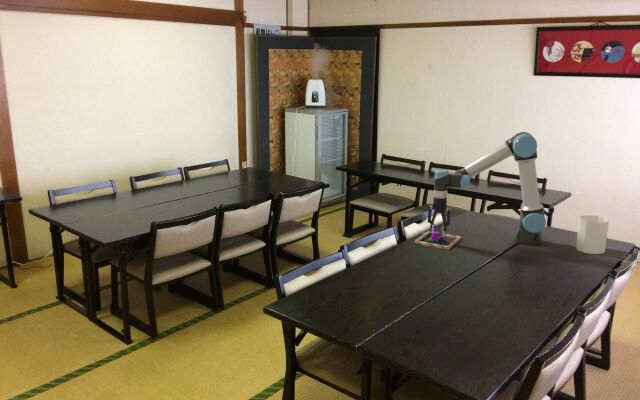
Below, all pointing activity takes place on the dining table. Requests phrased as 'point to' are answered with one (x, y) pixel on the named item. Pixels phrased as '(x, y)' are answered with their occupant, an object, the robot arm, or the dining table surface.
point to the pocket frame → (424, 234)
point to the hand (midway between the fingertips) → (438, 235)
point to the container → (592, 234)
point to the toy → (436, 236)
